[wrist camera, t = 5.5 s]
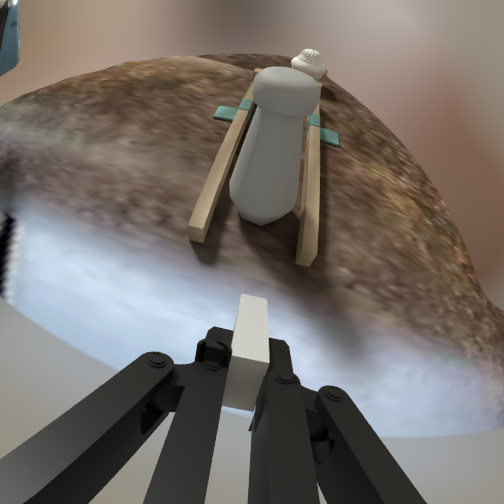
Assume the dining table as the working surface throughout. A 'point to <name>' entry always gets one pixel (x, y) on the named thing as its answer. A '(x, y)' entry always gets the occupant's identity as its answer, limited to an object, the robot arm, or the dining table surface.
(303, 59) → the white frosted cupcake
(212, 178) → the guide rails
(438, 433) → the dining table surface
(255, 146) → the salt shaker
